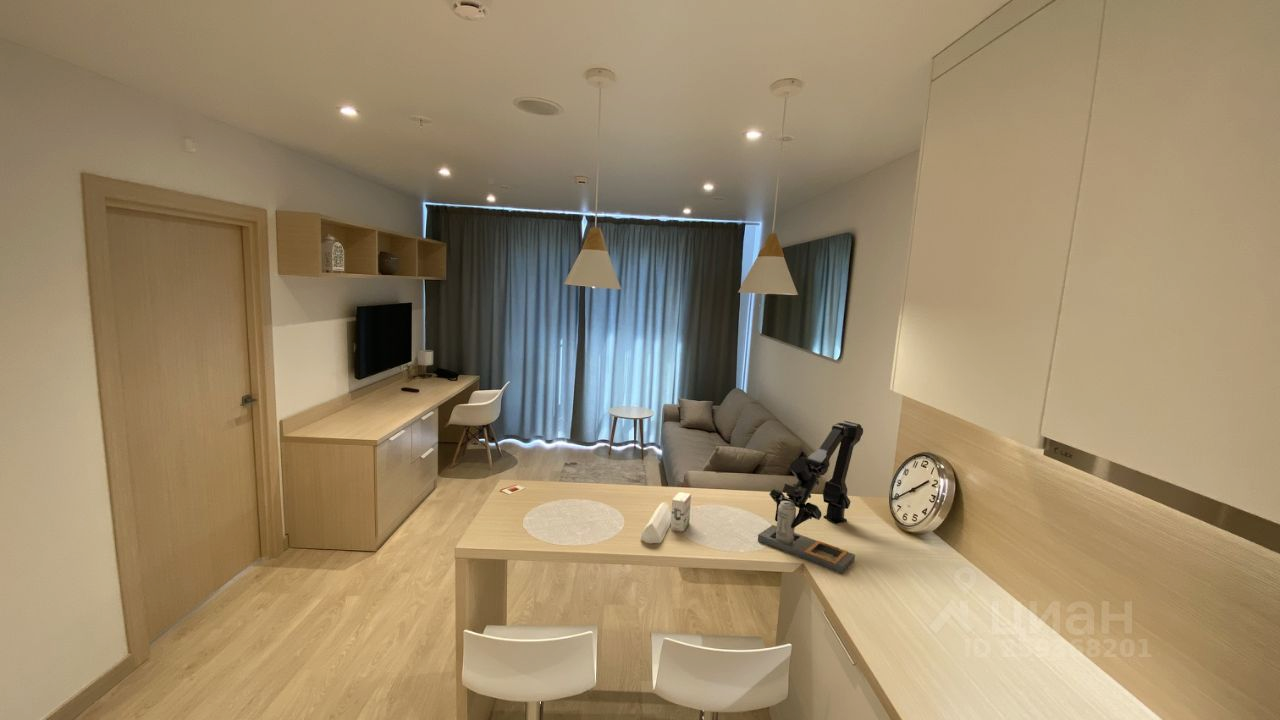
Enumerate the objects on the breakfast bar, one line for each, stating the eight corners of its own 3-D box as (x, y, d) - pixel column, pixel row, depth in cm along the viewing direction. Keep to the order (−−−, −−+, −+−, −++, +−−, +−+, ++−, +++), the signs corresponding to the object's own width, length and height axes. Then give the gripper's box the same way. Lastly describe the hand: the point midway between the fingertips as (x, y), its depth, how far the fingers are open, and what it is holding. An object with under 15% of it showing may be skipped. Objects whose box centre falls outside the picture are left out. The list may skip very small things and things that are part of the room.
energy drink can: (796, 546, 179) (799, 506, 177) (781, 548, 177) (784, 507, 175) (787, 538, 185) (790, 499, 183) (772, 540, 183) (775, 500, 181)
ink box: (677, 520, 196) (679, 491, 195) (689, 522, 195) (691, 493, 193) (670, 529, 189) (671, 499, 187) (683, 532, 187) (684, 501, 185)
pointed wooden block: (651, 505, 200) (634, 532, 177) (667, 498, 198) (651, 525, 175) (660, 522, 200) (643, 551, 177) (675, 515, 198) (661, 544, 175)
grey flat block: (757, 541, 182) (758, 533, 182) (772, 531, 190) (772, 524, 190) (842, 574, 162) (842, 566, 162) (854, 561, 170) (855, 553, 170)
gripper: (774, 467, 187) (753, 503, 182) (819, 483, 173) (798, 523, 168) (785, 483, 193) (765, 518, 188) (830, 500, 179) (810, 538, 174)
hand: (783, 524), depth 179 cm, fingers open, 6 cm apart
